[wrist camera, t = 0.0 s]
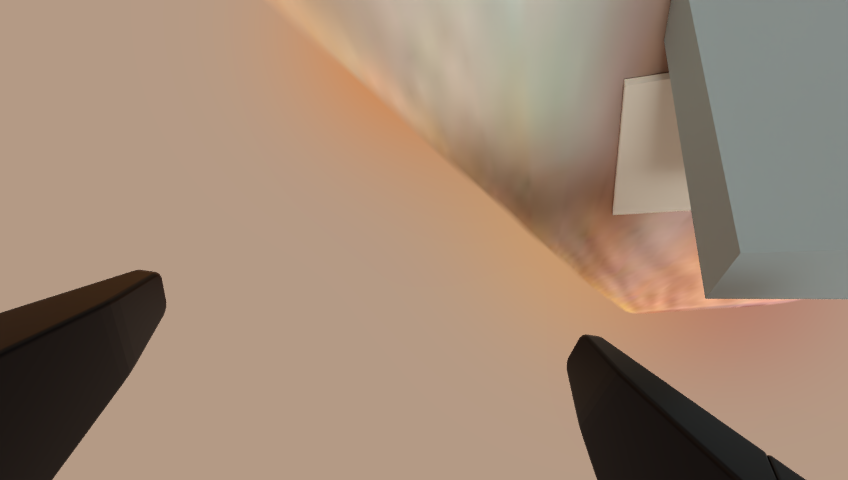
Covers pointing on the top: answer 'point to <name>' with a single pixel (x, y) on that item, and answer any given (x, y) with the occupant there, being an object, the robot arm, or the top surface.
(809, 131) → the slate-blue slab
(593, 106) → the top surface
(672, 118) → the beige square plate
